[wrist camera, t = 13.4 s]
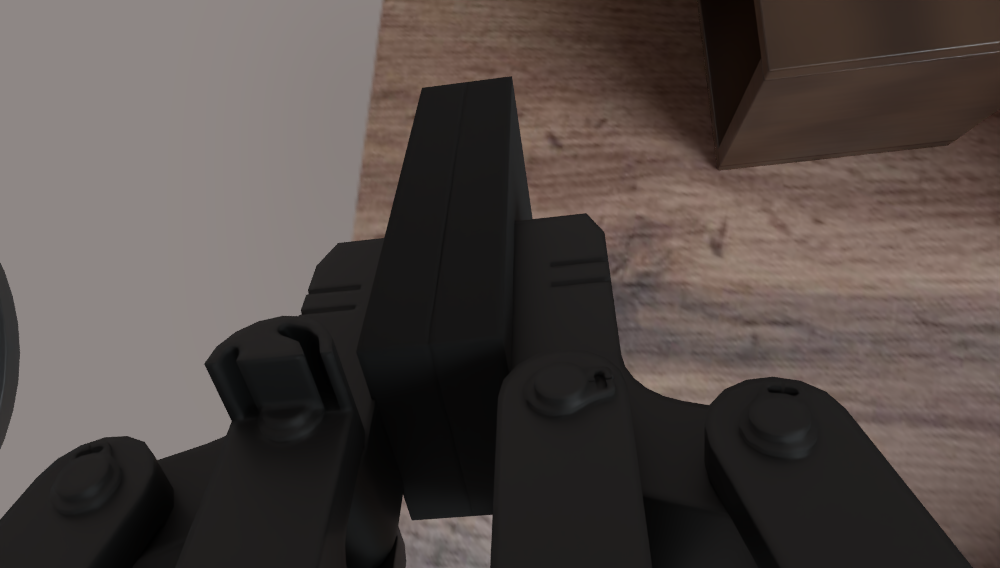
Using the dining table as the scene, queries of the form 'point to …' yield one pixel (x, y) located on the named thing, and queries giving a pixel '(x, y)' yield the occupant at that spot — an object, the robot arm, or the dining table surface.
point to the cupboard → (846, 76)
